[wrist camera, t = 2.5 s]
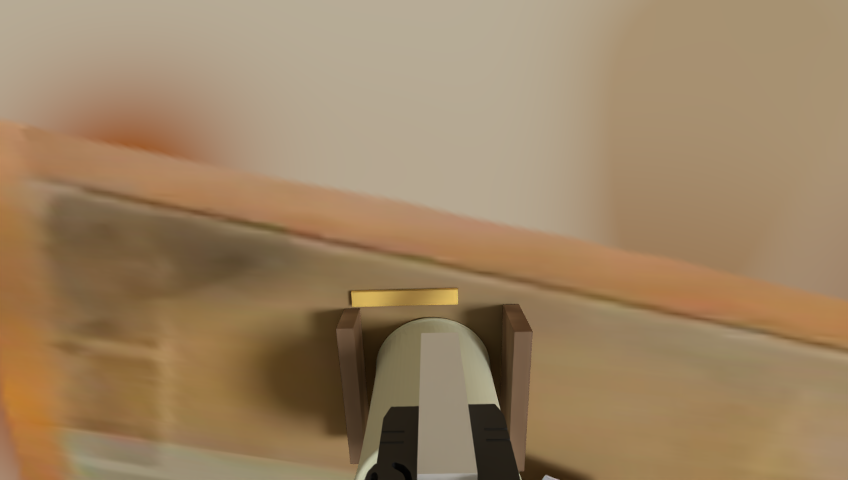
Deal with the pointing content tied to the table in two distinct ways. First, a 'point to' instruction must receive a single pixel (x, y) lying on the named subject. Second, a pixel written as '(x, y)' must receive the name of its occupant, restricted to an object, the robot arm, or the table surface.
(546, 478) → the wedge on round base
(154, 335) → the table surface
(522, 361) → the channel
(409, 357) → the can
